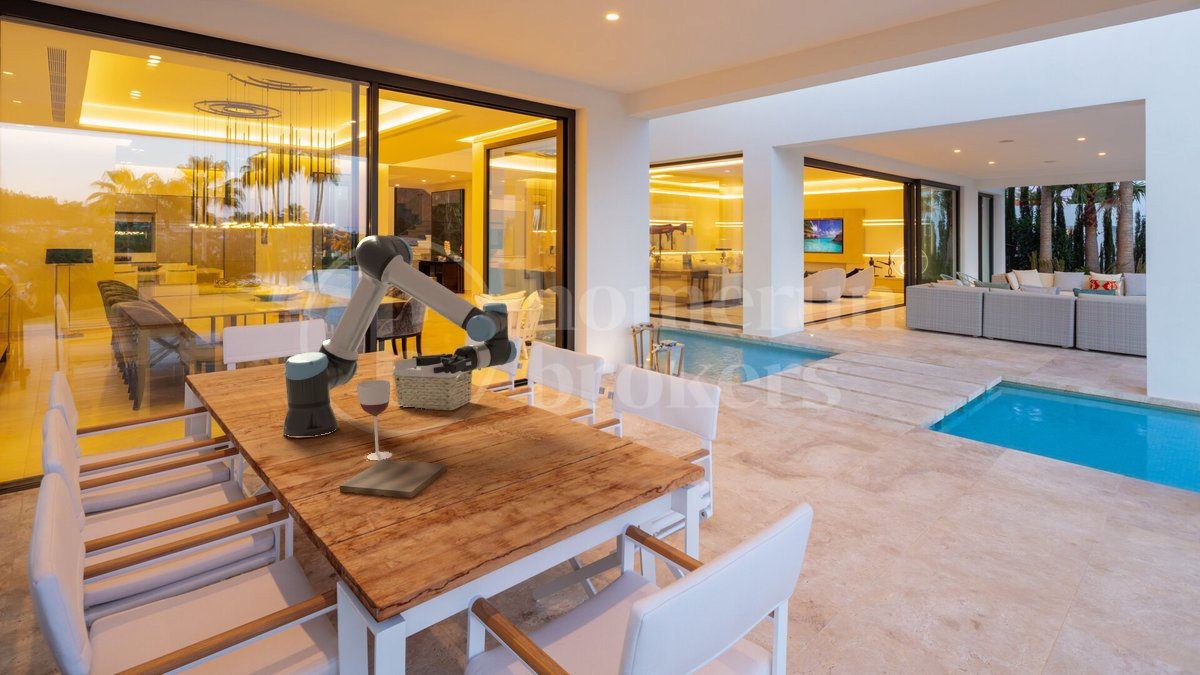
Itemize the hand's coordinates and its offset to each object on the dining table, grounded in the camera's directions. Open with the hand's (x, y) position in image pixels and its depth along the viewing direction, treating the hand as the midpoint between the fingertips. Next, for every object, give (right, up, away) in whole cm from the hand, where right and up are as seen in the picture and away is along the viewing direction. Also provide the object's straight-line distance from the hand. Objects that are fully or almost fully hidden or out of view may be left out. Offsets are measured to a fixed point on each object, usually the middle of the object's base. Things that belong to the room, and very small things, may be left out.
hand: (408, 368), depth 172 cm
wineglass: (-7, -24, -4) cm, 25 cm away
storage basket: (-6, -16, +50) cm, 53 cm away
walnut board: (+4, -26, -21) cm, 34 cm away
